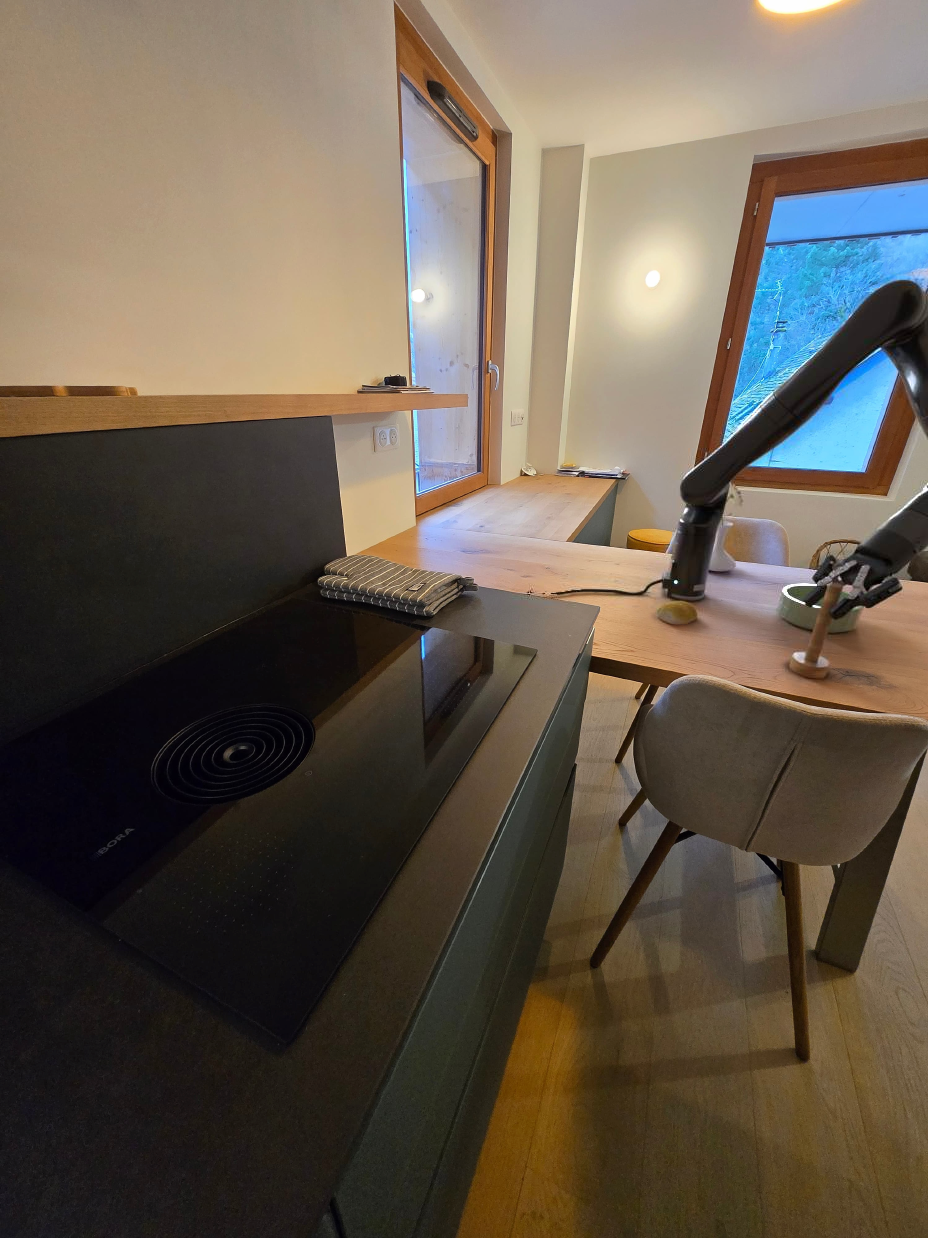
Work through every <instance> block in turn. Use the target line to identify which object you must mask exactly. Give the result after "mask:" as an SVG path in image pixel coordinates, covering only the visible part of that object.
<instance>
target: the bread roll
mask: <svg viewBox="0 0 928 1238" xmlns="http://www.w3.org/2000/svg"><path fill="white" fill-rule="evenodd" d="M697 611H698V610H697V609H696V607H695V606H694V605H693V604H691V603H690V602H688V601H686V600H673V601H669V602H666V603H663V604H660V605H659V606H658V607H657V609H656V611H655V614H656V617H657V618H658V619H660V620H661V621H663V622H665V623H668V624H671V625H686V624H689V623H692V622H694V621H695V620H696V619H697V618H698V612H697Z"/></svg>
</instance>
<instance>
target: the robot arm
mask: <svg viewBox="0 0 928 1238" xmlns="http://www.w3.org/2000/svg"><path fill="white" fill-rule="evenodd" d="M879 349H880V350H882V351H883V353H884V354H885V355H886V356H887V357H888V358H889V360H890V361H891V363H892V364H893V365H894V367H895V369H896V371H897V372H898V375H899V376H900V378H901V380H902V383H903V385H904V388H905V392H906V395H907V397H908V401H909V403H910V407H911V408H912V412H913V414H914V415H915V418H916V420H917V422H918V424H919V426H920V427H921V430H922V431H923V433H924V435H925V437H926V439H927V440H928V294H927V292H926V291H925V290H924V289H923V288H922V287H921V285H920V284H919V283H918V282H915V281H913V280H911V279H896V280H893V281H890V282H887V283H885V284H883V285H881V286H880V287H878V288H877V289H875V290H874V291H872V292H871V293H870V294H869V295H868V296H867V297H865V299H864V300H863V301H861V303H860V304H859V305H858V306H857V308H855V310H854V311H853V312H852V313H851V315H849V316H848V318H847V319H846V320H845V321H844V322H843V323H842V325H840V327H839V328H838V329H837V330H836V331H835V332H834V334H832V336H831V337H830V338H829V339H828V340H827V341H826V342H825V343H824V344H823V345H822V346H821V347H820V348H819V349H818V350H817V351H816V352H814V354H813V355H811V356H810V357H809V358H808V359H807V360H806V361H805V362H804V363H803V364H801V365H800V366H799V367H798V368H797V369H796V370H795V371H794V372H793V373H792V374H791V375H790V376H788V378H787V379H786V380H785V381H783V382H782V383H781V384H780V385H779V386H778V387H776V389H774V390H773V392H771V393H770V394H769V395H768V396H767V397H766V398H765V399H764V400H763V401H762V402H761V403H760V404H759V405H758V406H757V407H756V408H755V409H754V410H753V411H752V412H751V413H750V414H749V415H748V416H747V417H746V418H745V419H744V421H742V422H741V424H740V425H738V427H736V429H735V430H734V431H733V432H732V433H731V435H730V436H729V437H728V438H727V439H726V440H725V441H724V442H723V443H722V444H721V445H720V446H719V447H718V448H717V449H716V450H714V451H713V452H712V453H710V454H709V456H707V457H706V458H705V459H703V460H702V461H700V463H698V464H697V465H695V467H693V468H692V469H691V470H689V471H688V472H687V473H685V475H684V476H683V478H682V480H681V482H680V485H679V496H680V499H681V500H682V502H683V503H685V507H684V509H683V512H682V514H681V515H680V517H679V519H678V521H677V527H676V532H675V537H674V543H673V549H672V554H671V556H670V560H669V565H668V571H666V572H665V571H663V572H662V576H661V578H660V579H657V580H654V581H652V582H650V583H648V584H647V585H646V586H645V588H644V589H643V590H641V591H637V592H630V591H624V590H619V589H609V588H605V589H604V588H580V589H581V590H575V589H570V590H571V591H568V590H564V591H565V592H561V591H555V592H556V593H551V594H557V595H556V596H561V595H568V594H576V593H611V594H620V595H627V596H642V595H644V594H646V593H647V592H648V591H649V589H650V588H651V587H653V586H655V585H657V584H661V589H662V590H665V596H666V597H668V598H673V599H676V600H678V601H685V602H688V601H689V602H693V601H695V602H696V601H700V600H702V599H704V596H705V591H706V586H707V582H708V581H707V580H708V576H709V571H710V570H709V567H710V562H711V557H712V553H713V548H714V544H715V541H716V534H717V529H718V526H719V524H720V522H721V521H722V517H724V513H725V510H726V509H725V508H726V505H727V503H726V501H727V499H728V498H729V497H728V493H729V487H730V482H731V483H732V481H733V480H734V479H735V478H736V477H737V476H738V475H739V474H740V473H741V472H743V471H744V470H745V469H746V468H747V467H749V466H750V465H751V464H753V463H754V462H756V461H757V460H759V459H761V458H762V457H764V456H765V455H767V454H768V453H770V452H771V451H773V450H774V449H775V448H776V447H778V446H779V445H781V444H782V443H783V442H785V441H786V440H787V439H789V438H790V437H791V436H793V434H795V433H796V432H797V431H798V430H799V429H801V428H802V427H803V426H805V424H806V423H807V422H809V421H810V420H811V419H812V418H814V416H815V415H816V414H818V412H819V411H820V410H821V408H823V406H825V404H826V403H827V401H828V400H829V399H830V397H831V396H832V395H833V393H835V391H836V389H837V388H838V387H839V386H840V384H841V383H842V382H843V381H844V380H845V378H846V377H847V376H848V375H849V374H850V373H851V372H852V371H854V369H855V368H857V367H858V366H859V365H860V364H862V362H864V361H865V360H866V359H867V358H869V356H871V355H872V354H873V353H875V352H876V351H878V350H879ZM727 502H728V501H727ZM927 548H928V483H927V484H926V485H925V486H924V487H923V489H921V492H920V493H918V494H916V496H914V497H912V499H911V500H910V501H908V502H907V503H906V504H905V505H904V506H902V508H901V509H899V510H898V511H897V512H896V513H895V514H893V515H891V516H890V517H889V518H887V519H886V520H885V521H884V522H883V523H882V524H881V525H879V526H878V527H877V528H876V529H875V530H874V531H873V532H872V533H871V534H869V535H868V536H867V537H866V538H865V539H864V540H862V542H860V543H859V544H858V545H857V546H856V548H855V550H854V551H853V553H852V554H851V555H848V556H846V557H844V558H836V557H835V555H833V554H830V555H828V556H827V557H826V558H825V559H824V561H823V562H822V563H821V564H820V565H819V567H818V568H817V570H816V571H815V573H814V574H813V576H812V578H811V579H812V581H813V582H814V585H816V587H815V588H814V589H813V590H812V591H810V593H808V594H807V595H806V596H805V597H804V603H805V605H806V606H807V607H810V608H811V607H813V606H814V605H815V604H816V603H817V602H818V601H820V600H821V599H822V598H823V597H824V596H825V593H826V590H827V587H828V584H829V583H838V584H841V585H843V587H846V586H850V587H851V586H852V589H851V590H850V592H849V593H850V594H849V595H848V598H844V599H843V600H841V601H840V602H839V603H838V604H837V605H836V606H835V607H833V608H832V609H831V610H830V611H829V615H830V617H831V618H832V619H834V620H837V619H839V618H842V617H844V616H845V615H846V614H847V613H849V612H850V611H851V610H852V609H853V608H854V607H858V606H864V607H865V608H866V609H871V608H872V609H873V608H874V607H875V606H877V605H879V604H880V603H882V602H884V601H886V600H887V599H889V598H891V597H892V596H895V595H896V594H898V593H899V592H901V591H902V590H903V589H904V588H903V585H902V584H901V581H900V580H899V579H898V577H893V575H896V574H898V573H899V572H900V571H902V569H904V568H905V567H906V566H907V565H909V563H910V562H912V561H913V560H915V558H916V557H917V556H919V555H920V554H921V553H922V552H924V550H926V549H927ZM839 578H840V580H839ZM875 586H876V587H875ZM529 591H530V590H528V591H526V593H529ZM530 593H531V594H533V593H534V592H531V591H530ZM544 594H545V593H542V595H544Z"/></svg>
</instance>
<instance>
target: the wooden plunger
mask: <svg viewBox="0 0 928 1238" xmlns="http://www.w3.org/2000/svg"><path fill="white" fill-rule="evenodd" d="M827 585H828V587H827V590H826V593H825V596H824V599H823V602H822V605H821V608H820V611H819V614H818V617H817V620H816V623H815V627H814V630H812V633H811V635H810V638H809V642H808V645H807V648H806V651H796V652H794V653H792V656H791V660H790V663H789V669H790V670H791V671H792V672H793V673H795V674H797V675H799V676H801V677H805V678H808V679H823V678H824V677H826V676H827V673H828V671H829V668H830V660H828V659H827V658H826V657H824V656H821V652H822V651H823V647H824V644H825V641H826V638H827V635H828V630H829V627H830V624H831V621H832V618H831V617H830V615H829V611H830V610H831V609H832V608H833V607H835V606H836V605H837V603H838V601H839V598H840V595H841V592H842V590H843V588H844V586H843V585H841V584H838V583H832V582H831V583H829V584H827Z"/></svg>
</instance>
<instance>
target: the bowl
mask: <svg viewBox="0 0 928 1238" xmlns="http://www.w3.org/2000/svg"><path fill="white" fill-rule="evenodd" d="M815 587H816V584H811V583H794V584H789V585H788V584H787V586H785V587H783V588H782V591H781V594H780V598H779V602H778V605H777V607H776V612H777V614H778V615H779V616H780V617H782V618H783V619H784V620H785V621H786V622H788V623H790V624H792V625H793V626H795V627H798V628H801V629H806V630H808V631H813V630H814V627H815V623H816V620H817V617H818V614H819V611H820V608H821V605H822V602H823V599H824V597H823V598H822V599H821V600H820V601H818V602H817V603H816V604H815V605H814V606H813V607H811V608H810V607H807V606H806V605H805V603H804V597H805V596H806V595H807V594H808V593H810V591H812V590H813V589H814V588H815ZM849 594H850V592H848V591H845V590H843V589H842V592H841V595H840V598H839V601H838V603H839V602H840V601H841V600H843V599H844V598H848V595H849ZM838 603H837V604H838ZM864 607H865V606H858V607H854V608H853V609H852V610H851V611H850V612H849V613H847V614H846V615H845V616H844V617H842V618H839V619H837V620H834V619H832V621H831V624H830V627H829V630H828V633H830V634H837V633H845V632H849V631H853V630H854V629H856V628H857V626H858V624H859V621H860V619H861V616H862V614H863V613H862V612H863V611H864ZM828 633H827V634H828Z"/></svg>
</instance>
